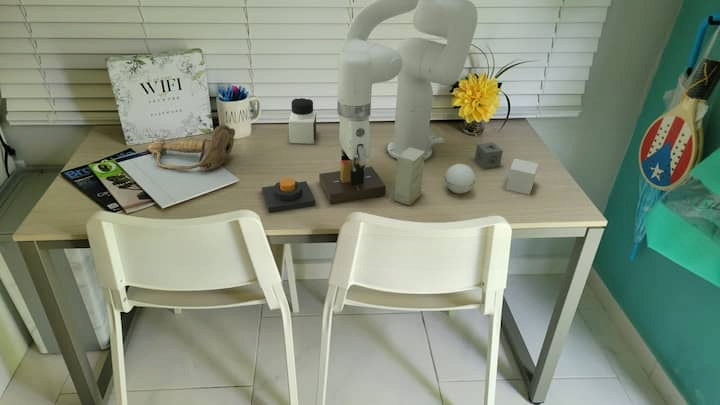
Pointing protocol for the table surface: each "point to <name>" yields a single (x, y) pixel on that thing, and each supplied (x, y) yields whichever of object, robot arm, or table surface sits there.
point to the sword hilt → (199, 149)
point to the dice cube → (488, 155)
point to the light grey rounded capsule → (460, 178)
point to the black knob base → (288, 197)
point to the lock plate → (351, 187)
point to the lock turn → (346, 170)
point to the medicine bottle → (302, 121)
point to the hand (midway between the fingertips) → (352, 175)
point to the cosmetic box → (409, 175)
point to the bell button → (287, 185)
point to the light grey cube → (521, 176)
